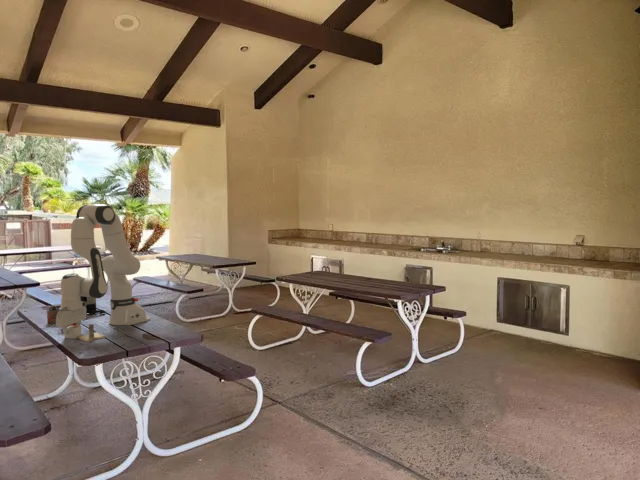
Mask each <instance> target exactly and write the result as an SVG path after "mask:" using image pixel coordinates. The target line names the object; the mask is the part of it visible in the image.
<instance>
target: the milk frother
mask: <svg viewBox="0 0 640 480" xmlns="http://www.w3.org/2000/svg"><path fill="white" fill-rule="evenodd" d="M80 298H81V301H83V302H86V303H87V305H86V306H85V307H86V315H88V314H87V313H93V314H101V313H106V310H104V309H97V298H93V297H84V296H80Z"/></svg>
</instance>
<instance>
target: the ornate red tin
mask: <svg viewBox="0 0 640 480" xmlns="http://www.w3.org/2000/svg"><path fill="white" fill-rule="evenodd" d="M59 309H61V304H58V305H52V306H49V307H48V310H46V314H47V316H46V319H47V322H46V323H47V325H53V324H52V323H55V324H56V316H57V313H58V311H59Z"/></svg>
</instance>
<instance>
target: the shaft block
mask: <svg viewBox="0 0 640 480" xmlns="http://www.w3.org/2000/svg"><path fill="white" fill-rule="evenodd" d="M94 331H95V329H94V323H90V324H88V334H81V336H77V339H78V340H80V341H83V342H85V343H88V342H92V341H97V340H101V339H105V338H107V335H105V334H102V333H99V332H98V331H97V332H94Z"/></svg>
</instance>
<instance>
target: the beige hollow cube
mask: <svg viewBox="0 0 640 480" xmlns="http://www.w3.org/2000/svg"><path fill="white" fill-rule="evenodd" d="M67 331H69V332H68V333H69V334H67V335H64V334H63V335H64V339H76V338H77V336H81V335H82V325H80V326H69V327H67ZM77 339H78V338H77Z"/></svg>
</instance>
